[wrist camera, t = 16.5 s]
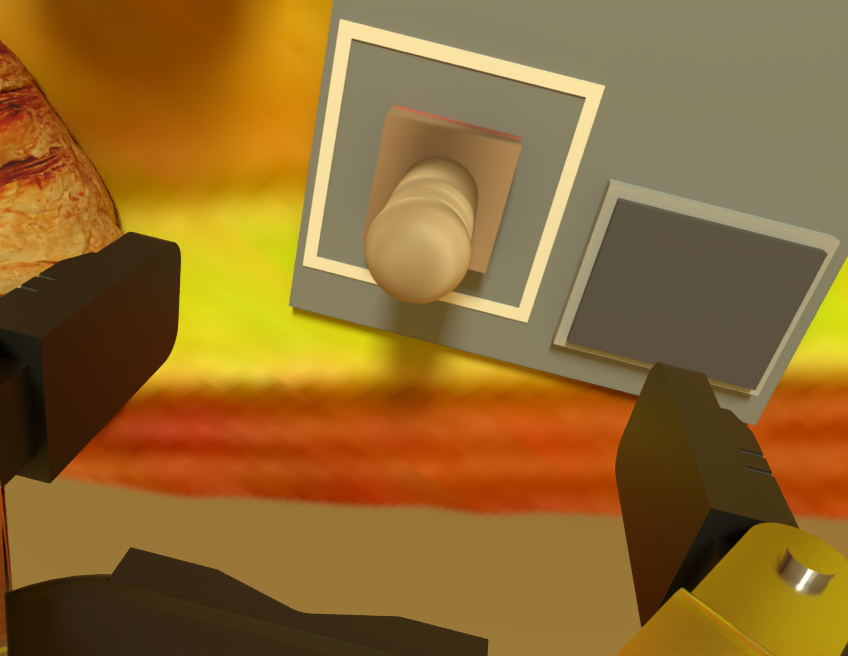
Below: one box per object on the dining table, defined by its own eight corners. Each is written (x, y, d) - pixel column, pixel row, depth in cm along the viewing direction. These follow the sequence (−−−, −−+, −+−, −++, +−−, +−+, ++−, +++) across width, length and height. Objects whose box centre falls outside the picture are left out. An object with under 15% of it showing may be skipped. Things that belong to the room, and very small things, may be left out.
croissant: (176, 371, 43) (185, 441, 37) (-5, 415, 40) (-30, 500, 34) (67, -10, 34) (53, -10, 27) (-181, 13, 31) (-266, 19, 24)
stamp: (521, 137, 30) (521, 208, 21) (487, 255, 33) (474, 366, 24) (394, 105, 30) (339, 162, 21) (370, 225, 33) (312, 324, 24)
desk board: (979, -10, 26) (1014, -9, 25) (750, 416, 36) (762, 440, 34) (362, -165, 27) (350, -175, 25) (293, 299, 36) (281, 317, 34)
